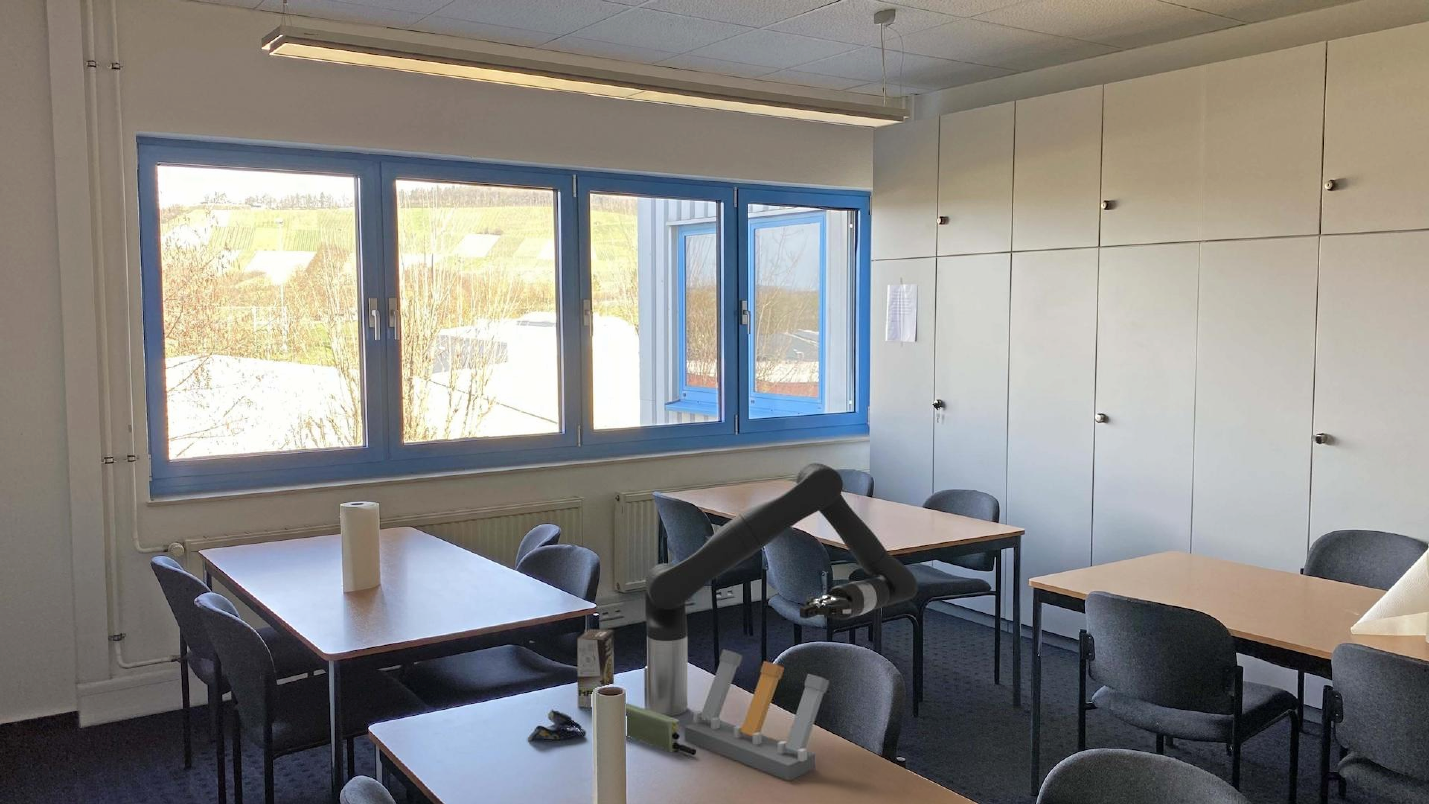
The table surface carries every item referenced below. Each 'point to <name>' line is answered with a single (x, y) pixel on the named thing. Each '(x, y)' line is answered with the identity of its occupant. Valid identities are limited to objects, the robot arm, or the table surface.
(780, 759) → the pegged base beam
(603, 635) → the coffee box
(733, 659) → the left paddle
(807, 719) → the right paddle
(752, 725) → the orange paddle
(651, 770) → the table surface
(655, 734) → the handheld radio
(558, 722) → the snack package
